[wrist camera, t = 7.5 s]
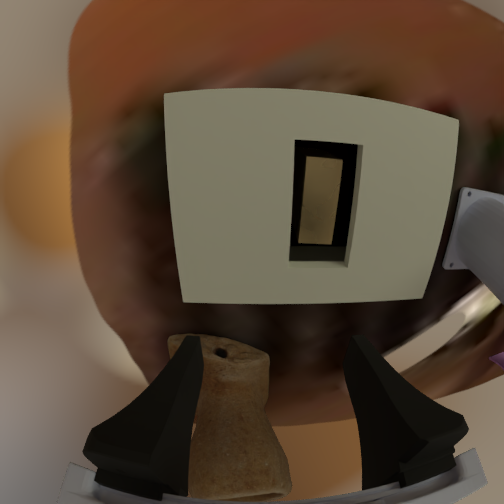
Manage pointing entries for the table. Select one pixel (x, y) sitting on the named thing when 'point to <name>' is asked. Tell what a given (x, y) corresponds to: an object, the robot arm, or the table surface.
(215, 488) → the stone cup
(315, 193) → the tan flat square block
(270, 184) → the box
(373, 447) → the robot arm
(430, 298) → the table surface
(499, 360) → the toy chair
